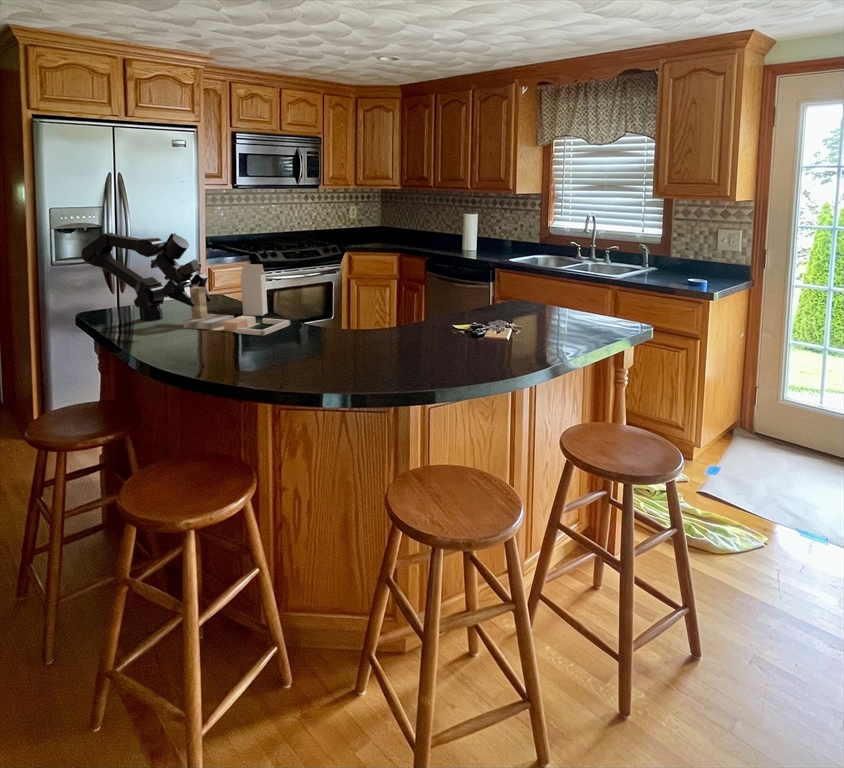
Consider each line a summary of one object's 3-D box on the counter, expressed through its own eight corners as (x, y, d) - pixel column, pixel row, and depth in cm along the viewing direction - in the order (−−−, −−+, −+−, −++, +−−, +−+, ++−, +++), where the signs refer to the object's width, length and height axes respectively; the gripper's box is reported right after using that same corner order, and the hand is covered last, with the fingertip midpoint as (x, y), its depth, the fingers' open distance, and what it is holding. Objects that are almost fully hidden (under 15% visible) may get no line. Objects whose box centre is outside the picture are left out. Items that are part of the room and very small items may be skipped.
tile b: (224, 329, 244) (223, 321, 243) (232, 326, 248) (232, 318, 247) (237, 330, 242) (237, 323, 241) (246, 327, 246) (245, 320, 246)
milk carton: (263, 319, 266) (260, 265, 261) (243, 319, 266) (239, 265, 261) (267, 315, 273) (264, 263, 268) (248, 315, 273) (244, 262, 268)
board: (182, 331, 247) (182, 326, 247) (208, 323, 260) (207, 318, 260) (237, 336, 241) (237, 331, 240) (261, 327, 253) (260, 323, 253)
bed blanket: (183, 326, 247) (180, 290, 244) (207, 319, 259) (204, 284, 256) (211, 329, 244) (208, 292, 241) (234, 321, 256) (231, 286, 252)
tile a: (234, 325, 249) (233, 318, 248) (242, 322, 253) (242, 315, 253) (247, 326, 247) (247, 319, 247) (255, 323, 252) (255, 316, 251)
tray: (236, 337, 239) (235, 328, 238) (264, 326, 255) (264, 318, 254) (263, 340, 236) (263, 330, 235) (290, 329, 251) (290, 320, 250)
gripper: (165, 255, 239) (198, 291, 238) (201, 249, 256) (231, 283, 255) (147, 279, 244) (179, 314, 243) (183, 271, 261) (213, 304, 260)
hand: (202, 303), depth 250 cm, fingers open, 9 cm apart
